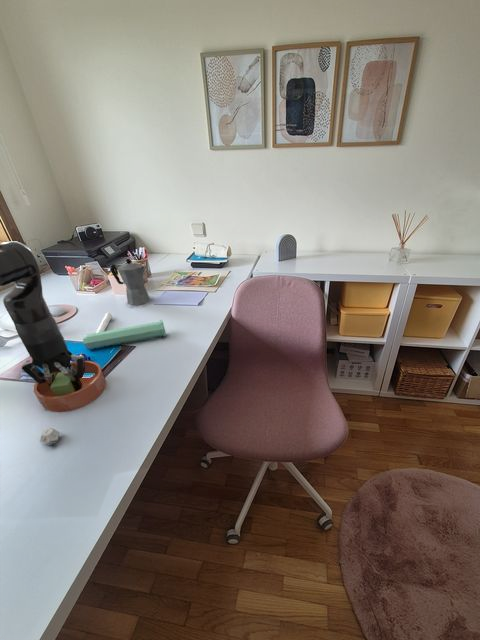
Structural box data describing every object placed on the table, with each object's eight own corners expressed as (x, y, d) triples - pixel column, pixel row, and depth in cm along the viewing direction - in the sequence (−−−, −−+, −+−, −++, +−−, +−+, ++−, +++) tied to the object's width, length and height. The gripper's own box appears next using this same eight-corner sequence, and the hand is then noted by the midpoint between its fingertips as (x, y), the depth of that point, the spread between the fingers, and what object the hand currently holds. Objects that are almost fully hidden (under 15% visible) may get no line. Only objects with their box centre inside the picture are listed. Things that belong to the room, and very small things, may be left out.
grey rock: (65, 434, 68) (59, 425, 66) (56, 447, 64) (50, 438, 63) (49, 434, 68) (43, 425, 66) (39, 448, 64) (33, 439, 63)
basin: (31, 416, 72) (22, 403, 70) (53, 377, 85) (46, 365, 82) (99, 406, 75) (93, 392, 72) (111, 369, 87) (106, 357, 85)
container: (78, 335, 92) (161, 320, 99) (83, 333, 98) (162, 319, 104) (83, 353, 94) (165, 337, 100) (88, 350, 99) (166, 335, 106)
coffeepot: (158, 297, 131) (148, 255, 121) (148, 306, 123) (137, 263, 113) (125, 295, 133) (113, 254, 123) (113, 305, 125) (100, 262, 115)
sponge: (57, 400, 76) (49, 387, 73) (64, 385, 81) (58, 372, 78) (74, 398, 76) (67, 384, 74) (80, 383, 81) (74, 370, 79)
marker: (107, 316, 116) (106, 310, 115) (113, 315, 117) (111, 310, 115) (95, 339, 102) (93, 333, 100) (101, 339, 102) (99, 333, 101)
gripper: (79, 323, 73) (101, 378, 83) (13, 330, 71) (44, 386, 80) (69, 339, 67) (95, 396, 77) (-2, 347, 65) (33, 405, 74)
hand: (69, 391), depth 78 cm, fingers closed on sponge, 4 cm apart
